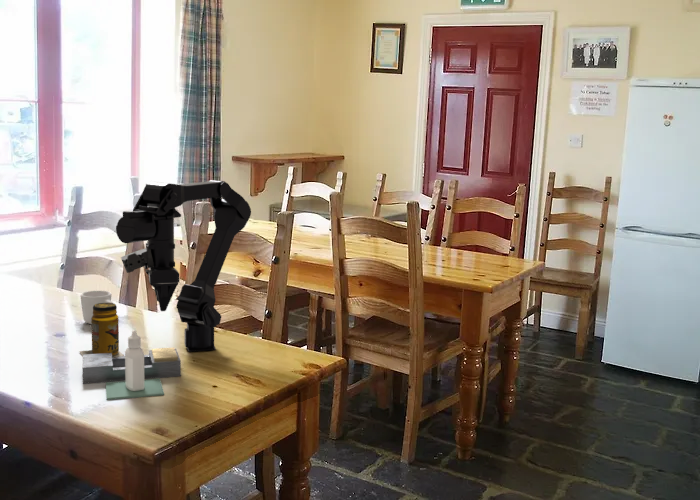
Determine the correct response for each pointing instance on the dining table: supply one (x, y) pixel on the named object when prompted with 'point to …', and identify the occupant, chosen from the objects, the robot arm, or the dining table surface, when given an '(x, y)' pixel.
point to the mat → (120, 391)
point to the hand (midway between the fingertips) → (161, 306)
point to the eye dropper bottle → (134, 363)
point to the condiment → (104, 330)
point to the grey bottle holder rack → (113, 368)
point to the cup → (93, 302)
